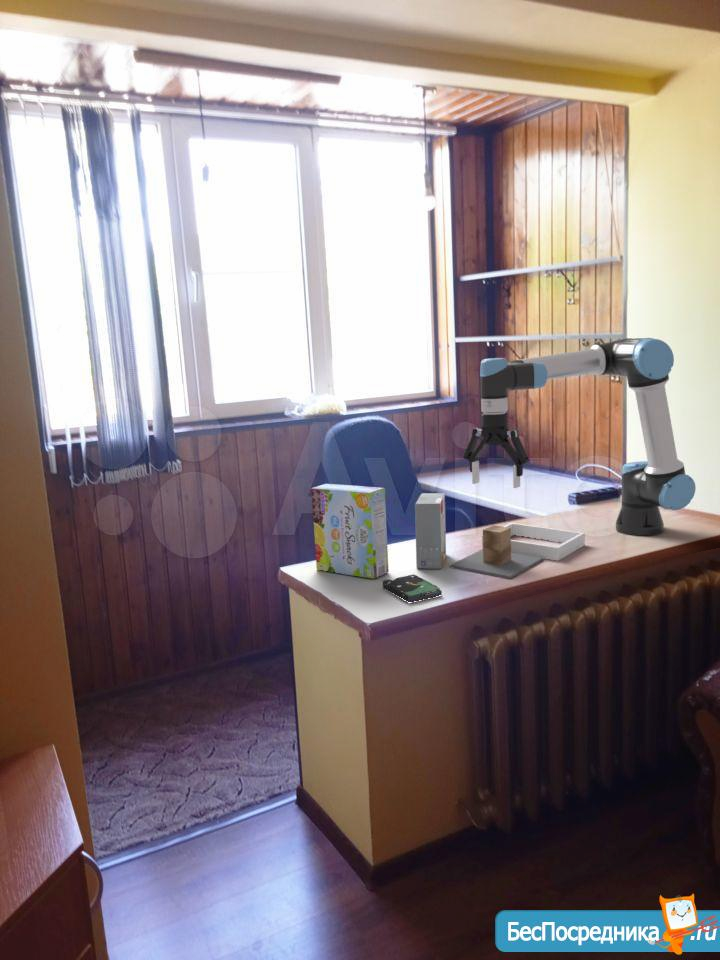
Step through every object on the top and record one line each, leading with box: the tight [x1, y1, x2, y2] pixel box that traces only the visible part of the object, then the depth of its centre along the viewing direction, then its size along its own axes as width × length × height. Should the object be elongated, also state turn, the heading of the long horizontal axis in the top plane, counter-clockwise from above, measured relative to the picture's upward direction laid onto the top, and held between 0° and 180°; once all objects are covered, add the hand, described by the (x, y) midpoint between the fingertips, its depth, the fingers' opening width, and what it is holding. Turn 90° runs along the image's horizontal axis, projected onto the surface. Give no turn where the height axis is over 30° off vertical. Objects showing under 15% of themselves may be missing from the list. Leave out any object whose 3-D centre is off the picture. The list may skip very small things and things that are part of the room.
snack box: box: [310, 483, 390, 580], centre depth 225 cm, size 22×9×26 cm, turn 56°
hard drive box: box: [414, 492, 447, 570], centre depth 231 cm, size 16×8×20 cm, turn 168°
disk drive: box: [382, 573, 443, 602], centre depth 207 cm, size 10×3×15 cm
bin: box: [481, 522, 586, 562], centre depth 242 cm, size 26×19×4 cm
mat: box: [449, 548, 544, 580], centre depth 227 cm, size 20×20×1 cm
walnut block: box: [482, 524, 512, 565], centre depth 226 cm, size 6×6×10 cm
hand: (496, 485), depth 222 cm, fingers open, 13 cm apart
